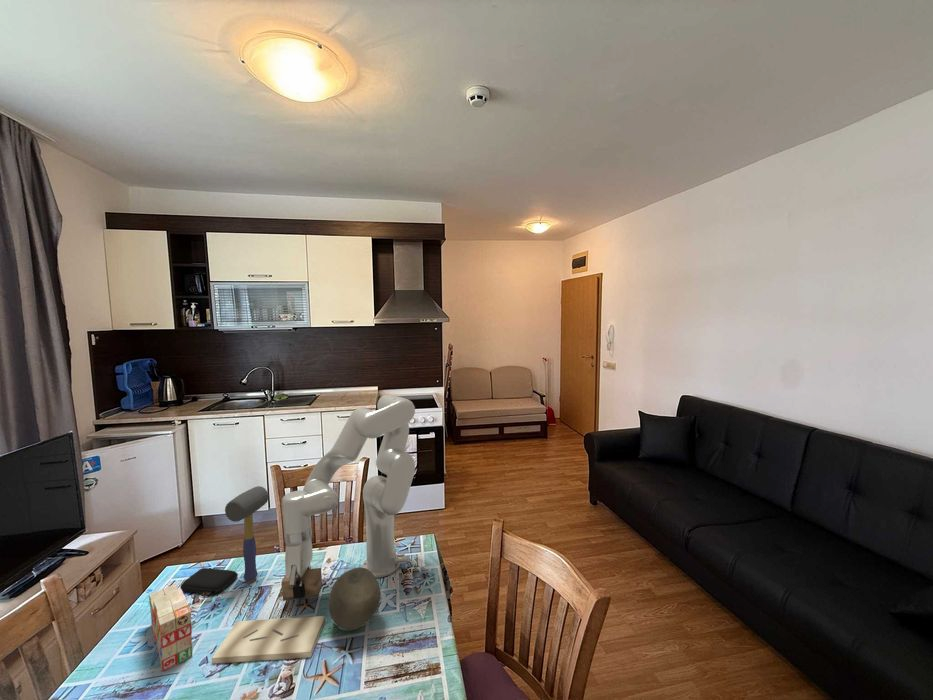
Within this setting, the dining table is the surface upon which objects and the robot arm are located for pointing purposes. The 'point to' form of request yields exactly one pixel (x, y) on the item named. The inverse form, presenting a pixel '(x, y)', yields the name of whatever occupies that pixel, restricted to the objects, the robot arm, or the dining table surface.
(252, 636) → the birch board
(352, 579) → the cantaloupe
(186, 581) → the carrying case or bag
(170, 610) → the stack of blocks
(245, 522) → the rubber mallet
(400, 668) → the dining table surface
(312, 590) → the sanding block
